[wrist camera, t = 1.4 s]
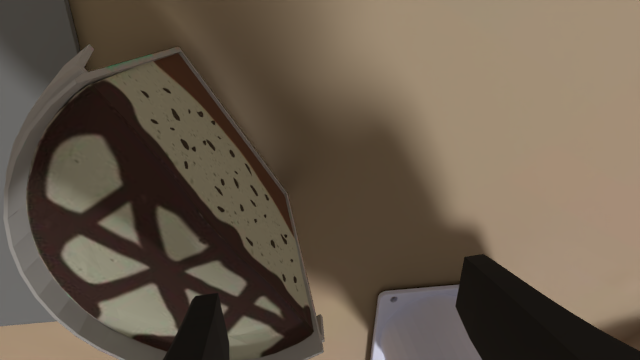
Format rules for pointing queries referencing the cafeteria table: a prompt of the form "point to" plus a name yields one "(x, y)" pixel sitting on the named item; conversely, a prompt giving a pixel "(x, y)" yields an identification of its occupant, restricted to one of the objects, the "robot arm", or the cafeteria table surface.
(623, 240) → the cafeteria table surface
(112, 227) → the food container
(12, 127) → the mat
